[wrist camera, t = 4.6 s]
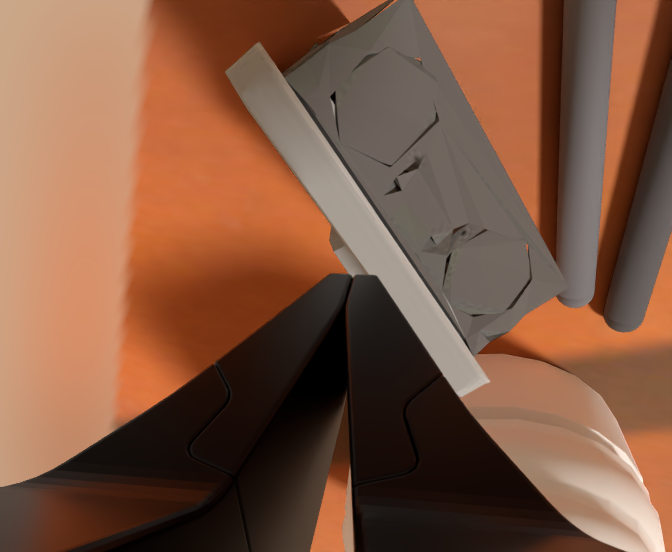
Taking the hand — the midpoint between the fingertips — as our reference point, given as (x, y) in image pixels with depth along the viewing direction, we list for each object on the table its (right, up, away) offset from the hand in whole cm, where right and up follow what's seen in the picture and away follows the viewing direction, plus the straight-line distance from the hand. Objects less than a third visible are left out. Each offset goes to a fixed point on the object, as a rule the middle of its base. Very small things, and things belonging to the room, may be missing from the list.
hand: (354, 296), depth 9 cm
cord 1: (+8, +6, +8) cm, 13 cm away
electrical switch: (+1, +5, +9) cm, 11 cm away
